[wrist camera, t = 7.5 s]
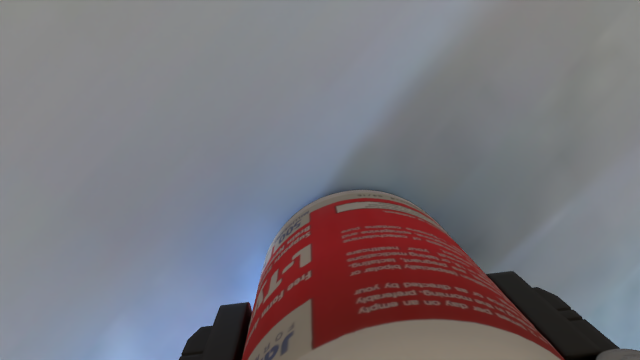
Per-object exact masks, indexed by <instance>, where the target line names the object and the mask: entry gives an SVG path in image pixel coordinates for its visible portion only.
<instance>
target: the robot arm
mask: <svg viewBox="0 0 640 360" xmlns="http://www.w3.org/2000/svg"><path fill="white" fill-rule="evenodd" d="M486 275H487V276H488V278H490V279H491V280H492V282H493V283H494V284H495V285H496V286H497V287H498V288H499V289H500V290H501V291H502V293H503V294H504V295H505V296H506V297H507V298H508V299H509V300H510V301H511V302H512V303H513V304H514V305H515V307H516V308H517V309H518V310H519V311H520V312H521V313H522V314H523V315H524V316H525V318H526V319H527V320H529V321H530V322H531V323H532V324H533V325H534V327H535V329H536V330H537V331H538V332H539V333H540V334H541V335H542V336H543V337H544V338H545V339H547V340H548V341H549V343H550V344H551V345H552V346H553V347H554V348H555V349H556V351H557V352H558V353H559V354H560V355H561V356H562V357H563V358H564V359H565V360H640V351H637V350H632V349H620V348H619V347H617V346H616V345H615V344H614V343H613V342H611V341H610V340H609V339H608V338H607V337H606V336H604V335H603V334H602V333H601V332H600V331H598V330H597V329H596V328H595V327H594V326H592V325H591V324H590V323H589V322H588V321H586V320H585V319H582V316H580V315H579V314H578V313H577V312H576V311H574V310H571V307H570V306H568V305H567V304H566V303H565V302H564V301H562V300H561V299H560V298H559V297H558V296H556V295H554V294H552V293H549V292H547V291H545V290H543V289H540V288H538V287H534V288H532V287H531V286H530V285H528V284H527V283H526V282H525V281H524V280H523V279H522V278H521V277H519V276H518V275H517V274H516V273H515V272H513V271H509V272H500V273H492V274H486ZM251 316H252V310H251V306H250V303H249V302H246V303H237V304H229V305H221V306H220V308H219V310H218V313H217V316H216V319H215V321H214V324H213V326H206V327H201V328H200V329H199V330H198V331H197V332H195V333H194V334H193V335H192V336H191V337H190V338H189V339H188V340H187V343H186V345H185V347H184V349H183V352H182V356H181V357H180V358H179V360H242V357H243V352H244V347H245V343H246V339H247V334H248V329H249V325H250V321H251Z"/></svg>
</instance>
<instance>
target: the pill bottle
mask: <svg viewBox="0 0 640 360" xmlns="http://www.w3.org/2000/svg"><path fill="white" fill-rule="evenodd" d="M242 360H565V359H564V358H563V357H562V356H561V355H560V354H559V353H558V352H557V351H556V349H555V348H554V347H553V346H552V345H551V344H550V343H549V341H548V340H547V339H545V338H544V337H543V336H542V335H541V334H540V333H539V332H538V331H537V330H536V329H535V327H534V325H533V324H532V323H531V322H530V321H529V320H527V319H526V318H525V316H524V315H523V314H522V313H521V312H520V311H519V310H518V309H517V308H516V307H515V305H514V304H513V303H512V302H511V301H510V300H509V299H508V298H507V297H506V296H505V295H504V294H503V293H502V291H501V290H500V289H499V288H498V287H497V286H496V285H495V284H494V283H493V282H492V280H491V279H490V278H488V276H487V275H486V274H485V273H484V272H483V271H482V270H481V269H480V268H479V267H478V266H477V265H476V264H475V262H474V261H473V260H472V259H471V258H470V257H469V256H468V255H467V254H466V253H465V252H464V251H463V250H462V249H461V248H460V247H459V245H458V244H457V243H456V242H455V241H454V240H453V239H452V238H451V237H450V236H449V235H448V233H447V232H446V231H445V230H444V229H443V228H442V227H441V226H440V225H439V224H438V223H437V222H436V221H435V220H434V219H433V218H432V217H430V216H429V215H428V214H427V213H426V212H424V211H423V210H422V209H420V208H419V207H417V206H416V205H414V204H413V203H411V202H409V201H407V200H405V199H403V198H400V197H398V196H395V195H392V194H389V193H385V192H380V191H373V190H352V191H344V192H339V193H335V194H331V195H328V196H325V197H323V198H320V199H318V200H316V201H314V202H312V203H310V204H309V205H307V206H305V207H304V208H302V209H301V210H300V211H298V212H297V213H296V214H295V215H294V216H293V217H292V218H291V219H290V220H289V221H288V222H287V223H286V224H285V225H284V226H283V227H282V228H281V230H280V231H279V232H278V234H277V235H276V237H275V239H274V240H273V242H272V244H271V245H270V248H269V250H268V252H267V255H266V258H265V261H264V265H263V269H262V272H261V277H260V281H259V285H258V290H257V294H256V299H255V303H254V307H253V311H252V316H251V321H250V325H249V329H248V334H247V339H246V343H245V347H244V352H243V357H242Z"/></svg>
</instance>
